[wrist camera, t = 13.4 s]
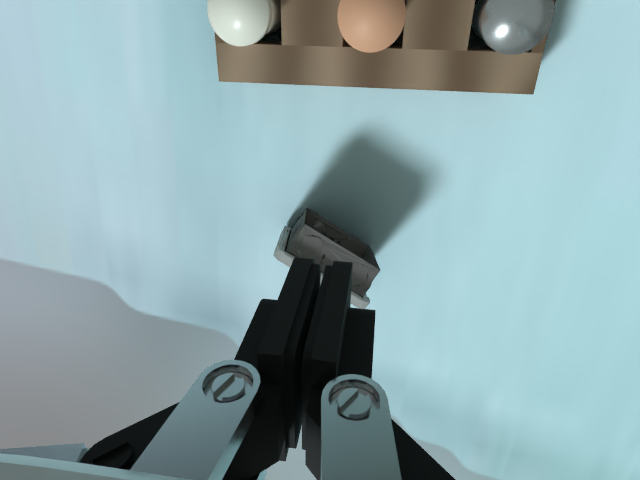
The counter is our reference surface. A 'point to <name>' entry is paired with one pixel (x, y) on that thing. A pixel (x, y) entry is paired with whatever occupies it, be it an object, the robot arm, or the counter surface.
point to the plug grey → (512, 23)
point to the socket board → (381, 53)
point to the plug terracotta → (371, 23)
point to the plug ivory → (244, 19)
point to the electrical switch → (329, 251)
